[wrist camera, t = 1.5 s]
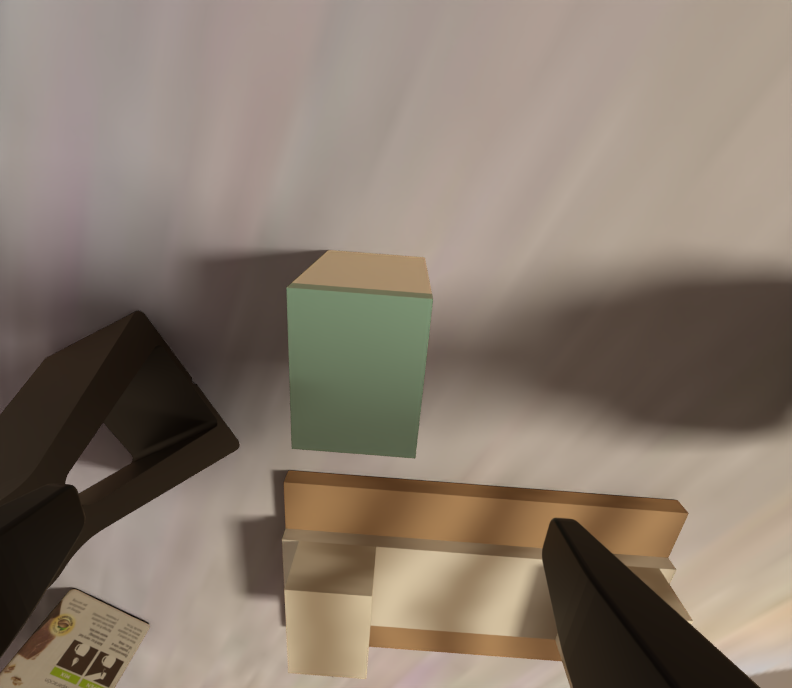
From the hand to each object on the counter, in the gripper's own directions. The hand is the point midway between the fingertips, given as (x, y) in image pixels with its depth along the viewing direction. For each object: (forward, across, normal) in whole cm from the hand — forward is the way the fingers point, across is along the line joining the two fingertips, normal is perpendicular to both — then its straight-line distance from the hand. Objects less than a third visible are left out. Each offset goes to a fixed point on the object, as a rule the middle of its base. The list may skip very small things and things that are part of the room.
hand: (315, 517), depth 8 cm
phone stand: (+14, +12, +6) cm, 19 cm away
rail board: (+13, -7, +17) cm, 23 cm away
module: (+13, 0, 0) cm, 13 cm away
